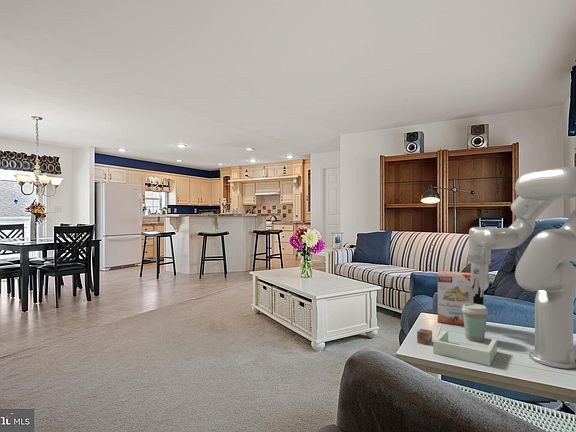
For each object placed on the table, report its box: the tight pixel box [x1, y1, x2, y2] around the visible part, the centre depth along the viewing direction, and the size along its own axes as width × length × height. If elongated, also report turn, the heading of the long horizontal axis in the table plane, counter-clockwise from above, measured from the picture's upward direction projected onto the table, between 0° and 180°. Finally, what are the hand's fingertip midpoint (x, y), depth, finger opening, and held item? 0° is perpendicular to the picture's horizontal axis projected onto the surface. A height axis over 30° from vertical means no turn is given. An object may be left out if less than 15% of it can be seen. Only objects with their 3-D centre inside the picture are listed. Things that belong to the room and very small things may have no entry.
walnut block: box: [416, 328, 433, 346], centre depth 126 cm, size 4×4×4 cm
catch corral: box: [432, 329, 498, 367], centre depth 117 cm, size 16×14×4 cm
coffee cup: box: [462, 303, 489, 343], centre depth 129 cm, size 8×9×12 cm
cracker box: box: [437, 270, 474, 326], centre depth 148 cm, size 14×6×21 cm, turn 67°
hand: (478, 306), depth 137 cm, fingers closed
